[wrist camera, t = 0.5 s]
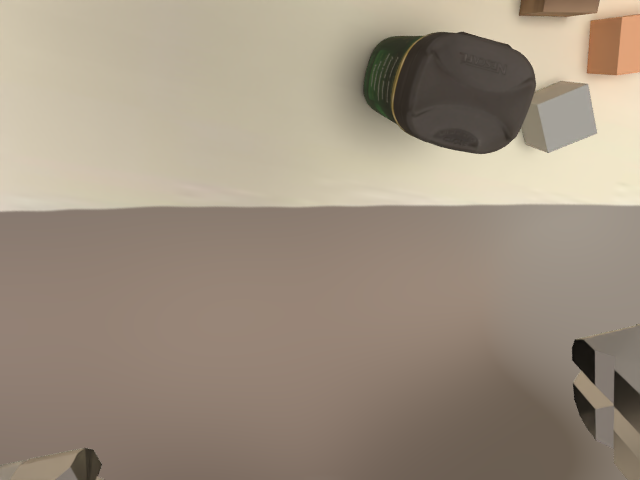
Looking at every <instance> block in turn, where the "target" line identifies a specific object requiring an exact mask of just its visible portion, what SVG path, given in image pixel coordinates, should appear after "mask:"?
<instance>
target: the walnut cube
mask: <svg viewBox="0 0 640 480" xmlns="http://www.w3.org/2000/svg"><path fill="white" fill-rule="evenodd" d="M599 1H600V0H521V5H520V12H519V16H564V17H569V16H576V15H584V14H592V13H597V11H598V6H599Z"/></svg>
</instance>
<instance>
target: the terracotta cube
mask: <svg viewBox="0 0 640 480" xmlns="http://www.w3.org/2000/svg"><path fill="white" fill-rule="evenodd" d="M637 72H640V14H638V15H631V16H623V17H616V18H608V19H601V20H593V21H591V25H590V39H589V52H588V66H587V73H592V74H607V75H622V74H629V73H637Z"/></svg>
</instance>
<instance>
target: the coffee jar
mask: <svg viewBox="0 0 640 480" xmlns="http://www.w3.org/2000/svg"><path fill="white" fill-rule="evenodd" d="M535 88H536V81H535V74H534V70H533V68H532V66H531V64H530V62H529V61H528V60H527V58H526V57H525V56H524V55H522V54H521V53H520V52H518V51H516V50H514V49H512V48H511V47H510V46H509V45H508V44H504V43H500V42H496V41H493V40H490V39H486V38H482V37H478V36H475V35H472V34H468V33H465V32H459V33H448V32H437V33H431V34H428V35H426V36H395V37H390V38H387V39H385V40H383V41H381V42H380V43H379V44H378V45H377V46H376V48H375V49H374V51H373V53H372V55H371V57H370V60H369V63H368V66H367V70H366V74H365V79H364V96H365V99H366V101H367V103H368V105H369V106H370V107H371V108H372V109H373V110H375V111H376V112H378V113H379V114H381V115H383V116H384V117H386V118H388V119H390V120H391V121H393V122H394V123H396V124H397V125H399V127H400V128H401V129H402V130H403V131H405V132H406V133H408V134H409V135H411V136H414V137H416V138H418V139H420V140H422V141H425V142H429V143H431V144H434V145H437V146H440V147H444V148H448V149H453V150H458V151H464V152H469V153H476V154H486V153H491V152H494V151H497V150H499V149H501V148H503V147H505V146H506V145H507V144H509V143H510V142H511V141H512V140H513V139H514V138H515V137H516V136H517V134H518V132H519V130H520V128H521V126H522V124H523V122H524V120H525V118H526V115H527V113H528V110H529V107H530V105H531V102H532V99H533V95H534V91H535Z"/></svg>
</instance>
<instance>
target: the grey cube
mask: <svg viewBox="0 0 640 480" xmlns="http://www.w3.org/2000/svg"><path fill="white" fill-rule="evenodd" d="M521 128H522V132H523V136H524V140H525V144H526V145H529V146H531V147H534V148H537V149H539V150H542V151H544V152H547V153H549V152H552V151H554V150H557V149H559V148H562V147H564V146H567V145H569V144H572V143H574V142H577V141H579V140H582V139H584V138H587V137H589V136H592V135H594V134H597V130H596V124H595V119H594V114H593V108H592V103H591V97H590V92H589V87H588V84H583V83H574V82H565V81H560V82H557V83H555V84H553V85H550V86H548V87H545V88H543V89H541V90H538V91H536V92H534V95H533V99H532V102H531V105H530V107H529V110H528V113H527V115H526V118H525V120H524V122H523V124H522V126H521Z"/></svg>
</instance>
